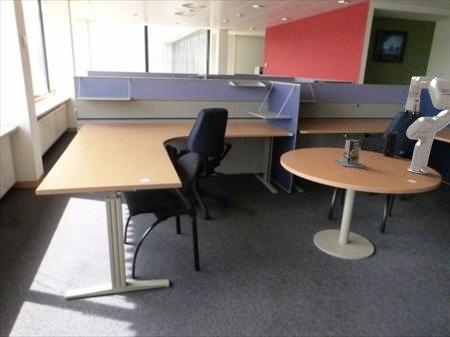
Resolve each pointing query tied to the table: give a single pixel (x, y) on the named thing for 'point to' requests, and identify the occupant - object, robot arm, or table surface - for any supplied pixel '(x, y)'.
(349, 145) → the coffee box
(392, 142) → the portable speaker
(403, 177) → the table surface
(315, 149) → the table surface
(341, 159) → the desk mat
